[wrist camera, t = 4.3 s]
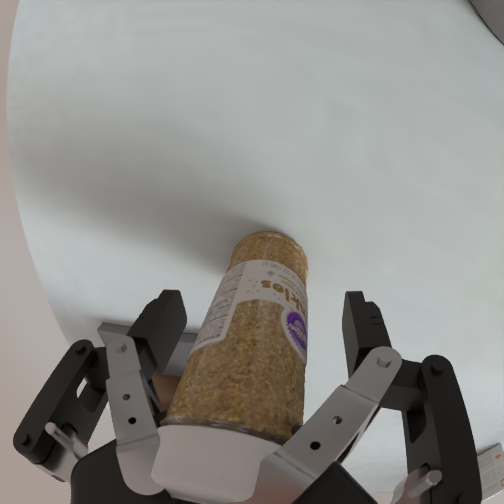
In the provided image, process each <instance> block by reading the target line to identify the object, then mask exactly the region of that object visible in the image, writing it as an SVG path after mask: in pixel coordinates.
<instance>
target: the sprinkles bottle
mask: <svg viewBox="0 0 504 504" xmlns="http://www.w3.org/2000/svg"><path fill="white" fill-rule="evenodd" d="M307 274H308V264H307V259H306V256H305V253H304V252H303V250H302V248H301V246H299V245H298V244H297V243H296V242H295V241H294V240H293V239H291V238H289V237H287V236H285V235H282V234H280V233H277V232H261V233H256V234H253V235H250V236H248V237H246V238H244V239H243V240H242V241H241V242H240V243H239V244H238V245H237V246H236V248H235V249H234V251H233V253H232V256H231V262H230V266H229V268H228V270H227V272H226V274H225V276H224V277H223V279H222V281H221V283H220V285H219V287H218V290H217V292H216V294H215V296H214V299H213V301H212V303H211V306H210V308H209V310H208V313H207V315H206V317H205V320H204V322H203V324H202V326H201V329H200V331H199V334H198V336H197V338H196V340H195V343H194V345H193V347H192V349H191V352H190V354H189V356H188V359H187V363H186V368H185V370H184V372H183V375H182V378H181V380H180V382H179V384H178V387H177V390H176V392H175V395H174V398H173V400H172V402H171V404H170V407H169V409H168V411H167V417H166V418H164V419H163V420H161V421H160V425H161V427H159V428H157V431H158V432H157V433H158V436H159V441H160V446H159V449H158V452H157V455H156V458H155V461H154V464H153V468H152V472H151V477H152V479H153V480H154V481H155V482H156V483H158V484H159V485H161V486H162V487H164V488H165V489H166V491H167V492H169V493H170V494H171V497H172V498H176V499H181V500H186V501H190V502H194V503H199V504H231V503H230V502H241V501H245V500H247V499H249V498H250V497H251V496H252V495H253V493H254V489H255V485H256V481H257V477H258V472H259V466H260V462H261V461H262V460H263V459H264V458H266V457H267V456H268V455H270V454H271V453H273V452H275V451H277V450H278V449H280V448H281V447H282V446H283V445H284V444H285V443H286V442H287V441H288V440H289V439H290V438H291V437H292V433H291V429H292V427H293V426H295V425H296V424H297V423H298V424H300V425H302V426H303V415H304V413H303V409H304V383H305V376H304V375H305V367H306V364H307V339H308V299H307V293H306V278H307Z"/></svg>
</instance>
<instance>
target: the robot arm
mask: <svg viewBox="0 0 504 504" xmlns="http://www.w3.org/2000/svg"><path fill="white" fill-rule="evenodd" d="M470 1H471V3H472V4H473V6H474V7H475V9H476V10H477V12H478V13H479V15H480V16H481V18H482V19H483V20H484V21H485V23H486V24H487V25H488V27H489V28H490V29H491V31H492V32H493V33H494V34H495V35H496V36H497V37H498V39H499V40H500V41H501V42H502V43H503V44H504V0H470ZM186 323H187V315H186V311H185V307H184V304H183V300H182V296H181V293H180V291H179V290H163V291H162V293H161V294H160V295H159V297H158V298H157V299H154V300H152V301H151V302H150V303H148V304H147V305H146V307H145V308H144V310H143V311H142V313H141V314H140V315H139V318H137V320H136V321H135V323H134V324H133V326H132V327H131V328H130V330H129V331H128V333H127V334H126V336H120V337H117V338H115V339H113V340H112V341H111V342H110V343H109V344H108V345H107V347H98V348H94V346H93V344H92V342H91V341H89V340H86V339H83V340H79V341H77V342H75V343H74V344H73V345H72V346H71V347H70V348H69V350H68V351H67V352H66V354H65V356H64V357H63V358H62V359H61V361H60V363H59V364H58V365H57V367H56V368H55V370H54V371H53V372H52V374H51V375H50V377H49V379H48V380H47V382H46V383H45V385H44V386H43V388H42V389H41V391H40V392H39V394H38V395H37V397H36V399H35V400H34V402H33V403H32V405H31V407H30V409H29V410H28V412H27V413H26V415H25V417H24V418H23V420H22V422H21V424H20V426H19V427H18V429H17V431H16V433H15V434H14V437H13V444H14V447H15V449H16V450H17V451H18V452H19V453H20V454H21V455H23V456H24V457H25V458H27V459H28V460H29V461H30V462H31V463H32V464H34V465H35V466H36V467H38V468H39V469H41V470H42V471H44V472H45V473H46V474H48V475H51V476H52V477H54V478H55V479H57V480H59V481H61V482H68V483H70V484H71V504H199V503H194V502H190V501H186V500H181V499H176V498H172V497H171V494H170V493H169V492H167V491H166V489H165V488H164V487H162V486H161V485H159V484H158V483H156V482H155V481H154V480H153V479H152V477H151V472H152V468H153V464H154V461H155V458H156V455H157V452H158V449H159V446H160V441H159V436H158V433H157V432H158V431H157V428H159V427H161V425H160V421H161V420H163V419H164V418H166V417H167V411H168V410H165V411H164V409H163V407H162V404H161V401H160V398H159V395H158V392H157V390H156V387H155V384H154V381H153V378H152V375H153V373H159V374H163V372H164V370H165V368H166V366H167V364H168V362H169V360H170V358H171V356H172V354H173V352H174V349H175V347H176V345H177V343H178V341H179V339H180V337H181V335H182V333H183V331H184V329H185V327H186ZM342 331H343V338H344V345H345V353H346V360H347V368H348V377H349V380H348V382H347V383H346V384H345V385H344V386H343V385H340V386H338V387H337V388H336V389H335V391H334V392H333V393H332V394H331V395H330V396H329V398H328V399H327V400H326V401H325V402H324V403H323V404H322V406H321V407H320V408H319V409H318V410H317V411H316V412H315V413H314V414H313V415H312V416H311V418H310V419H309V420H308V421H307V422H306V423H305V424H304V425H303V426H302V425H300V424H298V423H297V424H296V425H295V426H293V427H292V429H291V433H292V437H291V438H290V439H289V440H288V441H287V442H286V443H285V444H284V445H283V446H282V447H281V448H280V449H278V450H277V451H275V452H273V453H271V454H270V455H268V456H267V457H266V458H264V459H263V460H262V461H261V462H260V466H259V472H258V477H257V481H256V485H255V489H254V493H253V495H252V496H251V497H250V498H249V499H247V500H245V501H241V502H230V503H231V504H378V503H377V502H376V501H375V500H374V499H373V498H372V497H371V496H370V495H369V494H368V493H367V492H366V491H365V490H364V488H363V487H362V486H361V485H360V484H359V483H358V482H357V481H356V480H355V479H354V478H353V477H352V476H351V475H350V474H349V473H348V472H347V471H346V470H345V469H344V468H343V466H342V465H341V464H342V463H343V462H344V461H345V459H346V458H347V457H348V456H349V454H350V453H351V452H352V450H353V449H354V448H355V446H356V445H357V443H358V442H359V440H360V439H361V437H362V436H363V434H364V433H365V432H366V430H367V429H368V427H369V426H370V425H371V423H372V422H373V420H374V419H375V417H376V416H377V414H378V413H379V411H380V409H381V408H387V409H393V410H399V411H401V412H402V420H403V427H404V436H405V445H406V456H407V469H408V476H407V477H406V478H404V479H403V480H402V481H401V482H399V483H398V485H397V486H396V488H395V490H394V493H393V498H392V501H391V503H390V504H481V501H482V486H481V478H480V471H479V465H478V459H477V454H476V449H475V444H474V439H473V435H472V430H471V426H470V422H469V418H468V415H467V411H466V407H465V404H464V401H463V397H462V394H461V391H460V388H459V385H458V382H457V379H456V376H455V373H454V370H453V367H452V365H451V363H450V361H449V360H448V359H446V358H445V357H443V356H440V355H430V356H428V357H426V358H425V359H424V360H423V362H422V363H419V362H413V361H408V360H404V359H402V358H401V355H400V354H399V353H398V352H397V351H396V350H395V349H393V348H392V346H391V342H390V339H389V336H388V333H387V329H386V326H385V324H384V320H383V318H382V314H381V311H380V308H379V307H378V306H377V305H376V304H375V303H374V302H365V299H364V295H363V292H362V291H346V293H345V301H344V309H343V317H342ZM83 378H84V379H85V380H86V381H87V384H86V385H85V387H84V389H83V390H82V392H81V394H80V396H79V398H78V397H77V389H78V387H79V385H80V383H81V382H82V380H83ZM108 400H109V406H110V411H111V416H112V422H113V426H114V431H115V435H116V439H114V440H112V441H111V442H109V443H107V444H105V445H104V446H102V447H100V448H98V449H96V450H95V451H93V452H91V453H89V454H88V445H87V444H88V442H89V439H90V438H91V435H92V433H93V431H94V429H95V427H96V425H97V423H98V421H99V419H100V416H101V414H102V412H103V410H104V408H105V406H106V404H107V402H108Z"/></svg>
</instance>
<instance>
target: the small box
mask: <svg viewBox="0 0 504 504" xmlns="http://www.w3.org/2000/svg"><path fill="white" fill-rule="evenodd" d="M477 459H478V465H479V471H480V478H481V486H482V501H481V502H483V501H485V500H487V499H489V498H491V497H493V496H494V495H496V494H498V493H500V492H501V491H503V490H504V452H503V449H502V445H501V443H499V444H498V445H496V446H494V447H493V448H491V449H489V450H488V451H486V452H484V453H483V454H481V455H479V456H477Z"/></svg>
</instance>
